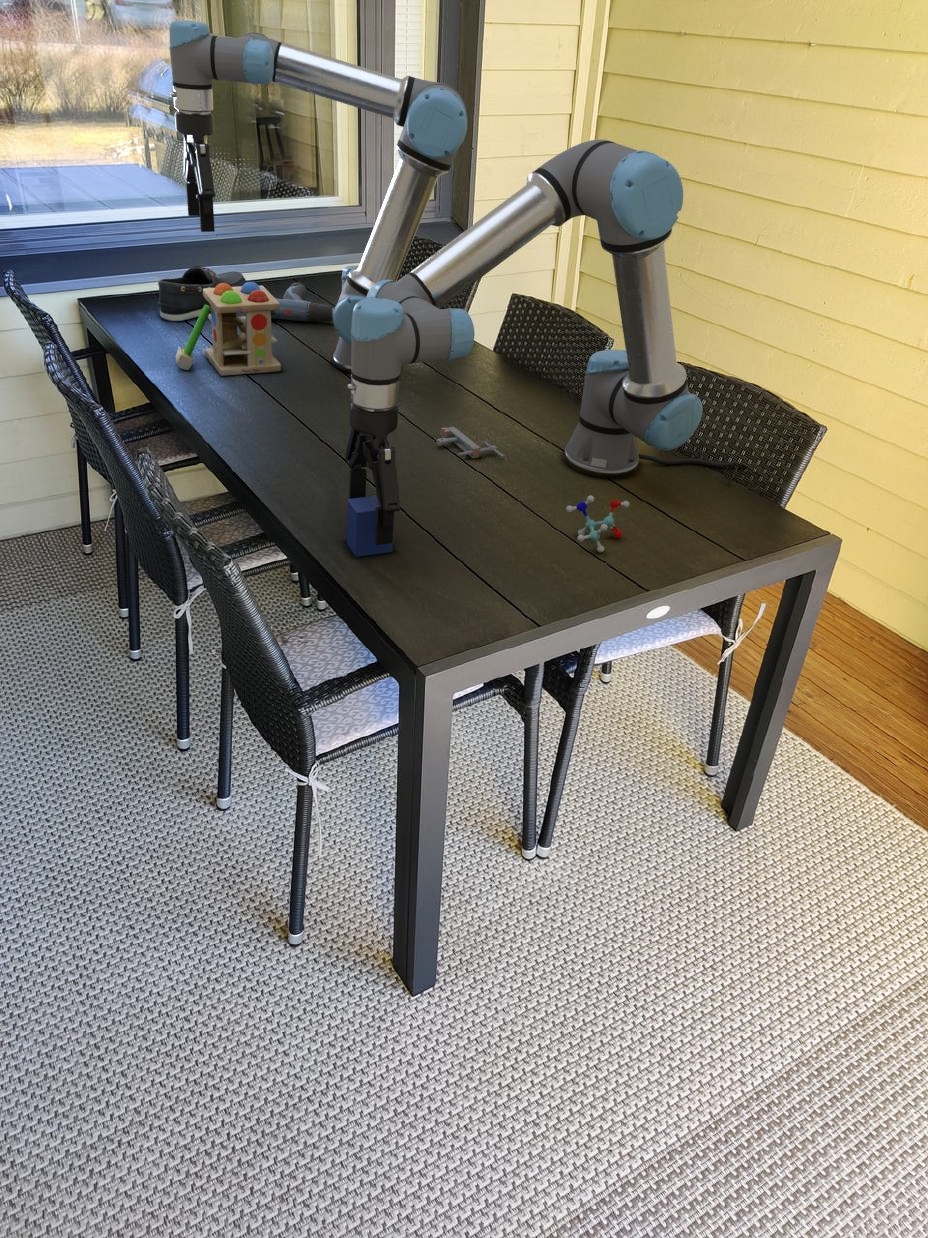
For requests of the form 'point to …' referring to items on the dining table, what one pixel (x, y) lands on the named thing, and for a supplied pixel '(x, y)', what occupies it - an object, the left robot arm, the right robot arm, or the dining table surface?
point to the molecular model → (591, 523)
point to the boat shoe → (191, 292)
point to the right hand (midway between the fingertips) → (370, 523)
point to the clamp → (464, 443)
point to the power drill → (301, 307)
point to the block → (364, 527)
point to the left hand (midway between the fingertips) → (201, 223)
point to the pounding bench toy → (229, 347)
